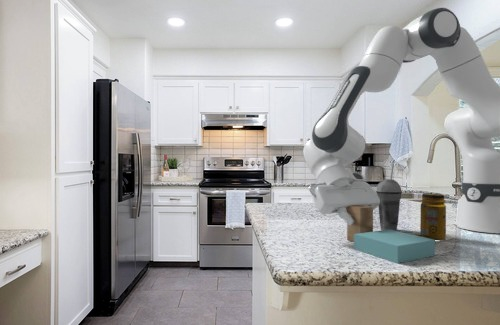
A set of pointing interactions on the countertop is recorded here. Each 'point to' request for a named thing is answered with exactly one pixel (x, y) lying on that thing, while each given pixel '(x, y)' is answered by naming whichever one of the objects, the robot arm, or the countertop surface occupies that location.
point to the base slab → (394, 245)
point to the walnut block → (360, 220)
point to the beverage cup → (389, 203)
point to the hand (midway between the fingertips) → (361, 222)
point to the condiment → (433, 217)
